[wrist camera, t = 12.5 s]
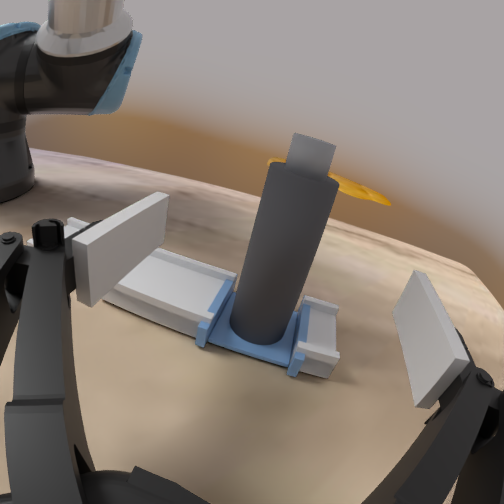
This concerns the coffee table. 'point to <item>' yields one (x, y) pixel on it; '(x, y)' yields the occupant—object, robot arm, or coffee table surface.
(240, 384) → the coffee table surface
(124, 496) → the robot arm
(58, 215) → the coffee table surface
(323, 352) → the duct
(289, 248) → the cable plug
